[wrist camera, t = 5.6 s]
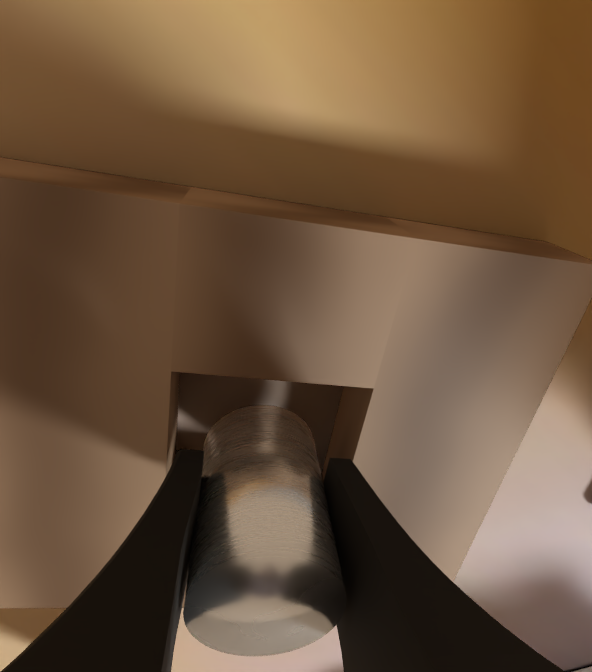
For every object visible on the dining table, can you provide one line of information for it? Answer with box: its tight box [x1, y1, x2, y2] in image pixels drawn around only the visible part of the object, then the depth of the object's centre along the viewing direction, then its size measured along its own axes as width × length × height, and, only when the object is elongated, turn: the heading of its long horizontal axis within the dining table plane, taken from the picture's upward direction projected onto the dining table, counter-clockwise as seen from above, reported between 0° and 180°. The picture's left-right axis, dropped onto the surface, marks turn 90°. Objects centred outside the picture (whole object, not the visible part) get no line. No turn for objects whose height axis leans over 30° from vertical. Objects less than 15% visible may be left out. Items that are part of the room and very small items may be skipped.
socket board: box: [0, 157, 592, 608], centre depth 14 cm, size 16×14×2 cm
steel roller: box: [183, 405, 347, 656], centre depth 12 cm, size 4×4×5 cm
